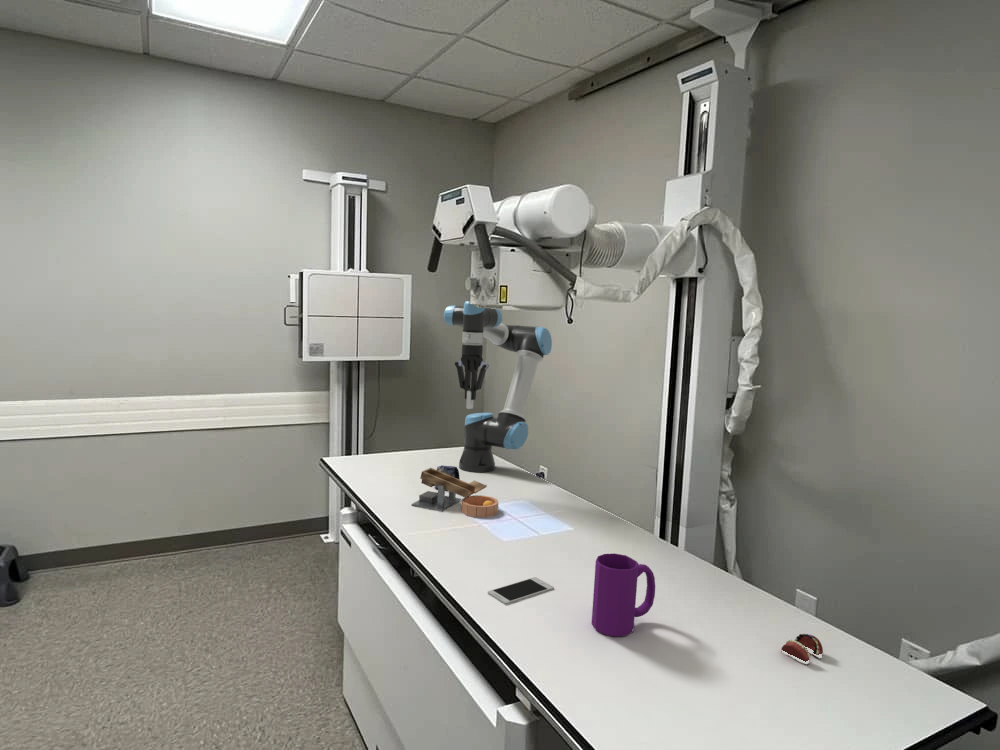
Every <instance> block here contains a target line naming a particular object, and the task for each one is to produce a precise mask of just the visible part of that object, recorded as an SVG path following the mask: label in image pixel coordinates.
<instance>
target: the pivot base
mask: <svg viewBox="0 0 1000 750" xmlns="http://www.w3.org/2000/svg"><path fill="white" fill-rule="evenodd" d="M456 495H457V494H455V493H453V492H451V491H448V495H446V490H445V485H438V488H437V492H435V491H431V490H428V491H425V492H424V493H421V494H419V495H418V498H419V499H418V500H417V501H415V502H413V503H411V506H412V507H416V508H422V509H427V510H432V511H437V512H443V511H445V510H447V509H448V508H450V507H452V506H454V505H456V504H458V503H459V502H462V498H459V497H456Z"/></svg>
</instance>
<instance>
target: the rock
mask: <svg viewBox="0 0 1000 750" xmlns="http://www.w3.org/2000/svg"><path fill="white" fill-rule="evenodd" d="M436 470H437V471H440V472H442V473H445V474H447V475H450V476H452V477H454V478H457V479H459V480H461V479H460V471H459V467H457V466H452V465H443V464H442V465H438V466H437V467H436ZM434 487H435V488H437V489H438V486H437V485H435V486H433V488H434ZM445 491H447V490H446V489H445Z"/></svg>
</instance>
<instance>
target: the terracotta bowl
mask: <svg viewBox="0 0 1000 750" xmlns="http://www.w3.org/2000/svg"><path fill="white" fill-rule="evenodd" d="M485 501H491V502H492V503H493V504H492V505H487V506H483V503H484V502H485ZM460 508H461V513H462V514H464V515H465V516H469V517H473V518H490V517H494V516H495V515H496V516H497V514H499V501H498V499H497V498H495V497H493V496H487V495H474V494H473V495H470V496H469V497H467V498H465V497H463V498H461V506H460Z"/></svg>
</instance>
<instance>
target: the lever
mask: <svg viewBox="0 0 1000 750" xmlns="http://www.w3.org/2000/svg"><path fill="white" fill-rule="evenodd" d="M419 479H420V480H421V484H423V485H425V486H427V487H429V488H432V487H433V488H434V486H435V485H437V486H438V485H445V489H446V490H445V491H448V492H449V491H451V492H453V493H455V494H456V495H459V496H461V497H463V498H467V497H469V496H473V495H474V494H477V493H479V492H480V491H482V490H484V489H486V488H487V487H488V486H487V484H484V483H481V482H478V481H477V480H473V481H471V482H467V481H464V480H461V479H460V480H459V479H457V478H454V477H452V476H450V475H447V474H445V473H442V472H440V471H437V469H435V468H432V467H430V468H426V469H425V470H422V471H421V474H420V478H419Z"/></svg>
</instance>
